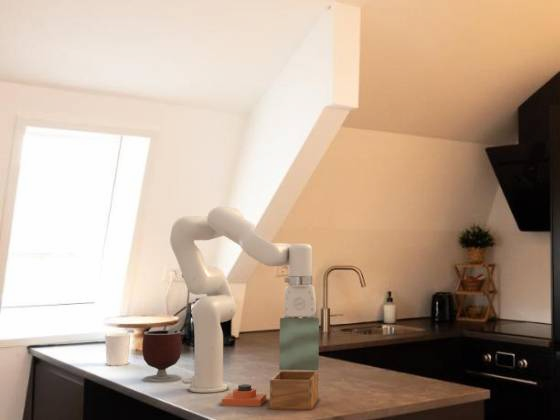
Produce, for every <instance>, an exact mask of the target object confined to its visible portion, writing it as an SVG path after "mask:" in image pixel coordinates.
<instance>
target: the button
mask: <svg viewBox="0 0 560 420" xmlns="http://www.w3.org/2000/svg"><path fill="white" fill-rule="evenodd" d="M251 388H252V385H251V384H247V383H246V384H239V385H238V386H237V389H238V391H251Z"/></svg>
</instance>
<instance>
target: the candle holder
mask: <svg viewBox="0 0 560 420" xmlns="http://www.w3.org/2000/svg"><path fill="white" fill-rule="evenodd" d="M104 339H105V355H106V356H105V359H106V365H107V366H124V365H127V364H129V358H130V357H129V355H130V344H131V333H128V332H114V333H113V332H112V333H106V334H105V335H104Z"/></svg>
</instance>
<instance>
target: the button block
mask: <svg viewBox="0 0 560 420" xmlns="http://www.w3.org/2000/svg"><path fill="white" fill-rule="evenodd" d="M266 401H267V393H257V389H256V388H254V387H251V391H238V388H234V389H233V390H232V392H229V393H228V394H226V395H225V396H224V397H223V398H222V399H221V406H223V407H226V406H227V407H229V406H231V407H237V406H238V407H261V406H262V405H263V404H264V403H265V402H266Z"/></svg>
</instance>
